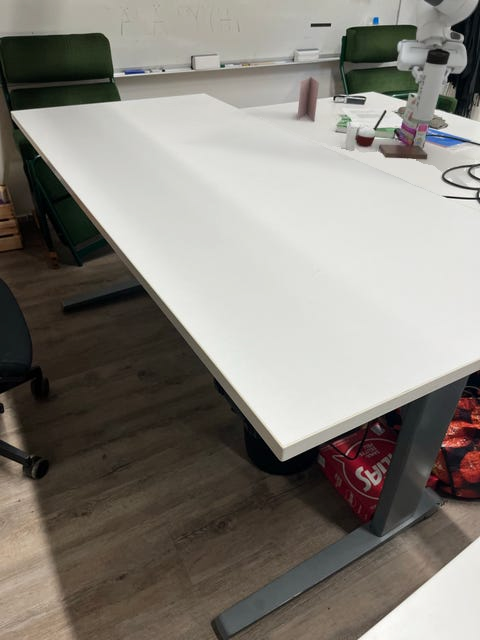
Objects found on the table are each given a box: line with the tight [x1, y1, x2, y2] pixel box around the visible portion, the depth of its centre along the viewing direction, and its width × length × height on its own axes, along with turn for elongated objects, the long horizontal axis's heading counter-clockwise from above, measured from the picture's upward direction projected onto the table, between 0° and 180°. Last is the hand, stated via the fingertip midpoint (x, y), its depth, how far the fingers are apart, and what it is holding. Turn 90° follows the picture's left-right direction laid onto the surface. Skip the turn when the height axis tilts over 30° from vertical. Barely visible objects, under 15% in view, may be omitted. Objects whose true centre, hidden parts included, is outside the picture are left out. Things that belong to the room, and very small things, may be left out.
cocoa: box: [356, 109, 388, 147], centre depth 167 cm, size 10×6×12 cm, turn 68°
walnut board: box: [378, 143, 429, 160], centre depth 164 cm, size 14×10×2 cm
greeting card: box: [296, 76, 320, 122], centre depth 191 cm, size 11×7×15 cm, turn 154°
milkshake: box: [344, 120, 362, 152], centre depth 162 cm, size 5×5×10 cm
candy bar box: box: [397, 92, 431, 150], centre depth 168 cm, size 11×5×16 cm, turn 10°
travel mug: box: [411, 48, 450, 125], centre depth 145 cm, size 6×7×20 cm
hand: (431, 82), depth 144 cm, fingers closed on travel mug, 6 cm apart
